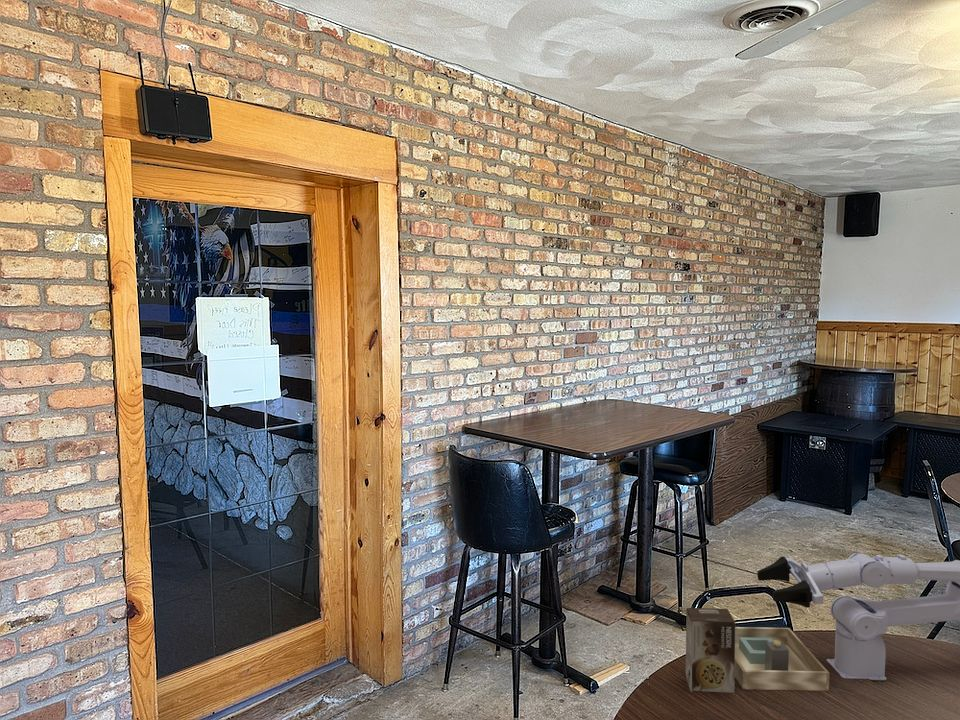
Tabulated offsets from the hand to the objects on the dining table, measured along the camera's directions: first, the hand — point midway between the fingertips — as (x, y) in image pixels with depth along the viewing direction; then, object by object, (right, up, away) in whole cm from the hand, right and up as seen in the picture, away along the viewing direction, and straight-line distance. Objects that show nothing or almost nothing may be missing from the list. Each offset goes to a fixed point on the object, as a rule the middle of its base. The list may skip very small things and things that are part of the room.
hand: (765, 585), depth 149 cm
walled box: (+2, -20, +3) cm, 20 cm away
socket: (+2, -19, +7) cm, 21 cm away
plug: (+2, -19, -2) cm, 20 cm away
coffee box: (-14, -20, -4) cm, 25 cm away
